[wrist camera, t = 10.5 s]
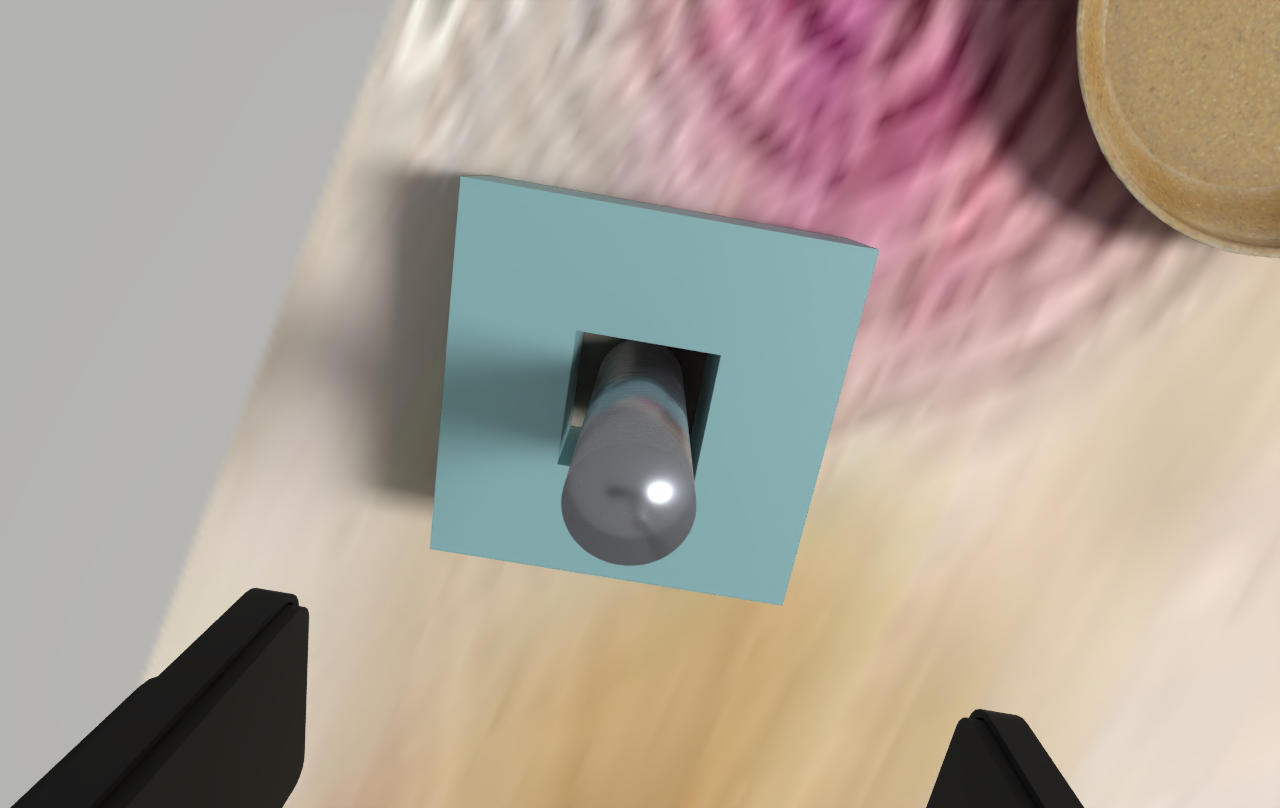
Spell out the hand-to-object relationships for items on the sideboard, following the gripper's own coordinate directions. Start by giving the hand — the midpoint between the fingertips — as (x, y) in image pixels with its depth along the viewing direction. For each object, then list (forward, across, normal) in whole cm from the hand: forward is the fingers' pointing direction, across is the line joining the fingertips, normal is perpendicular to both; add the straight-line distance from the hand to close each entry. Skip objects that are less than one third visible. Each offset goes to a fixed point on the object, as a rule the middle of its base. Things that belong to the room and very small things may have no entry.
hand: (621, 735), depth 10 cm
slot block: (+16, 0, -1) cm, 16 cm away
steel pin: (+16, 0, -1) cm, 16 cm away
